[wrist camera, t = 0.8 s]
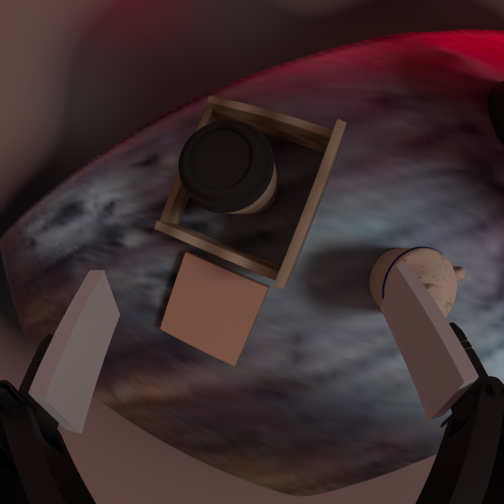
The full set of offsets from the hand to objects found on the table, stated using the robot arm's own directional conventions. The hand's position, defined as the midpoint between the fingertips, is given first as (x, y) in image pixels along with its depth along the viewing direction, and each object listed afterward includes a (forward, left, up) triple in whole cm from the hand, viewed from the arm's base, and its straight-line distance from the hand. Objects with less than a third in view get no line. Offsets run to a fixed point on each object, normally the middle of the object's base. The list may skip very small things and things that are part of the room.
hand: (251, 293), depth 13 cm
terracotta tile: (+7, +10, -26) cm, 29 cm away
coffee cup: (+8, -7, -26) cm, 28 cm away
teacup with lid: (-16, -4, -26) cm, 31 cm away
